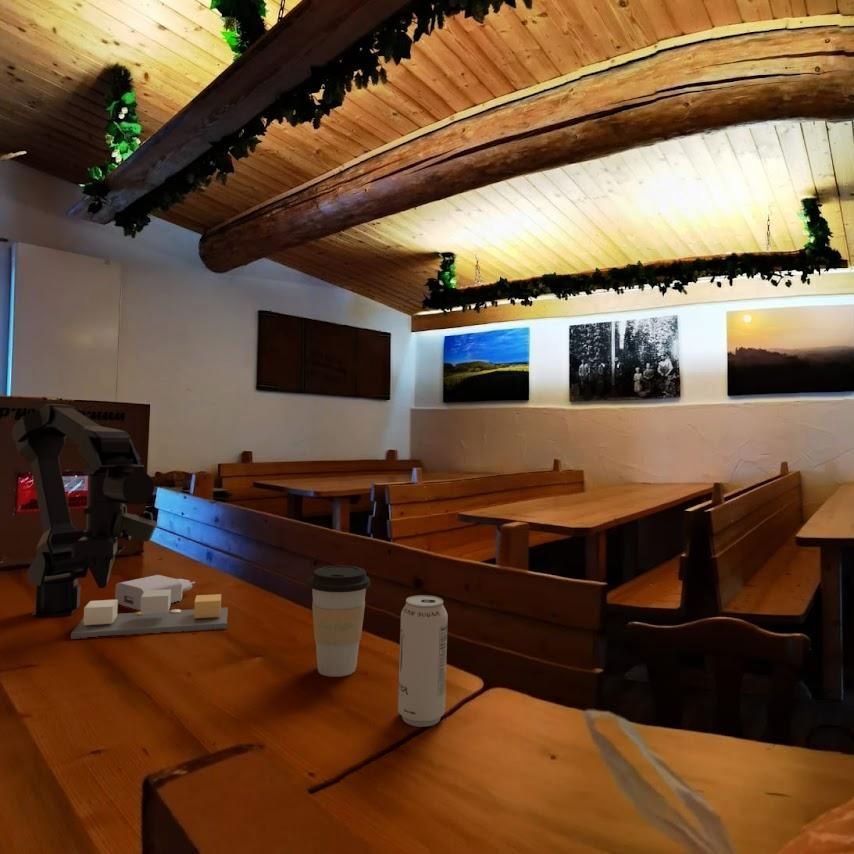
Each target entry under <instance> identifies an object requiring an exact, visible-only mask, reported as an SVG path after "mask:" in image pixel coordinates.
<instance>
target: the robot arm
mask: <svg viewBox="0 0 854 854" xmlns="http://www.w3.org/2000/svg"><path fill="white" fill-rule="evenodd" d="M11 436H12V440H13V441H14V443H15V446H16V450H17V453H18V454H19V455H20V456H21V457H22V458H23V459H24V460H25V461H26V462H28V463H29V464H30V469H31V474H32V479H33V485H34V490H35V495H36V501H37V506H38V511H39V517H40V522H41V527H42V535H41V537H40V539H39V542H38V543H37V545H36V547H35V548H36V549H35V550H36V556H35V558H34V560H33V561H32V562H31V564H30V566H29V568H28V569H27V572H26V573H27V581H28V583H31V584H33V585H36V593H35V594H36V595H35V598H36V599H35V611H34V612H33V613H32V614H31V616H32V618H41V617H43V618H44V617H57V616H59V617H60V616H61V617H62V616H71V615H72V614H73V613H74V612H76V611H77V609H78V608H79V607H80V606H81V591H82V590H81V589H82V587H81V584H78V579H84V578H86V577H87V573H88V570H89V571H90V573H91V575H92V577H93V579H94V581H95V583H96V585H97V587H98V589H106V587H107V586H108V582H109V579H110V575H111V572H112V568H113V565H114V561H115V557H116V556H117V555H118V554H119V553H120V552H121V551H122V550H123V549H124V548H125V547H126V544H118V539H125V541H130V540H131V539H132V537H133V538H136V539H139V541H141V542H145V543H149V542H150V540H152V537H153V535H154V532H155V530H156V528H157V525H158V522H157V520H154V516H153V513H152V512H150V511H147V510H144V511H143V512H142V513H141V514H139V515H137V514H135V513H134V514H133V513H128V506H127V505H133V506H141V505H143V504H144V505H145V503H147V502H148V501H149V500H150V499H151V498H152V496H153V494H154V491H155V483H154V481H153V479H152V477H151V476H150V474H148V473H147V472H145V466H144V465H143V464H142V463H141V460H142V459H141V458H140V456H139V454H138V452H137V450H136V448H135V446H134V445H135V444H134V441H132V438H131V436H130V434H129V433H128V432H126V431H124V430H121V429H117V428H112V427H106V426H101V425H100V424H98V423H97V422H95V421H93V420H92V419H90V418H89V417H87V416H85V415H84V414H82V413H81V412H80V411H77V410H76V408H75V406H72V405H70V404H59V403H57V404H56V403H47V404H44V405H43V406H42V407H41V408H39V409H38V410H35V411H33V412H30V413H28V414H25V415H24V416H21V418H20V419H19V420H18V421H17V422H16V423H15V424H14V425H13V427H12V431H11ZM67 438H69V440H72V441H73V442H75V443H76V444H77V445H78V446H79V447H78V451H77V452H78V454H80V455H81V457H83V459H84V460H85V461H86V462H87V463H88V466H86V467H85V468H84V469H83V471H82V473H83V474H84V475H87V498H86V506H85V507H83V514H85V515H86V524H85V525H86V528H85V530H84V529H77V528H76V527H75V526H74V525H73V523H72V517H71V512H70V508H69V503H68V498H67V493H66V488H65V484H64V483H65V482H64V480H63V475H62V473H63V472H62V469H61V464H60V458H59V456H60V455H61V453H62V451H63V449H64V447H65V445H66V442H65V441H66V440H65V439H67ZM126 504H127V505H126Z"/></svg>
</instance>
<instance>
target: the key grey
mask: <svg viewBox="0 0 854 854" xmlns="http://www.w3.org/2000/svg"><path fill="white" fill-rule="evenodd" d="M171 605H172V604H171V589H167V590H146V591H144V593H143V595H142V596H141V614H147V613H164V612H168V611H170V607H171Z"/></svg>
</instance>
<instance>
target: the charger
mask: <svg viewBox="0 0 854 854" xmlns="http://www.w3.org/2000/svg"><path fill="white" fill-rule="evenodd" d="M193 584H196V581H192V582H191V580H188V579H183V578H174V577H169V576H165V575H161V574H155V575H150V576H145V577H141V578H136V579H131V580H126V581H122V582H118V583H116V584H115V588H114V589H115V590H114V591H115V593H114V594H115V595H114V600H118V604H120V605H123V606H127V607H130V608H134V609H138V610H141V596H142V595H143V593H144V591H146V590H167V589H171V603H172V604H175V603H174V602H176V603H178V602H177V601H179V602H181V601H182V599H183V592H186V591H189V590H191V589H192V588H193ZM123 606H122V607H123ZM127 607H126V608H127ZM130 608H129V609H130ZM134 609H133V610H134Z"/></svg>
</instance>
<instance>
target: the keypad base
mask: <svg viewBox="0 0 854 854" xmlns="http://www.w3.org/2000/svg"><path fill="white" fill-rule="evenodd" d="M228 611H229V607H221V613H220V617H209V618H194V608H192V609H179V608H177V609H176V608H175V609H171V610H168V612H164V613H147V614H141V611H136V612H128V613H125V612H124V613H123V612H122V613H117V617H116V619H115V620H114V622H113V623H112V624H96V625H84V617H83V618H82V619H81V620H80V621H79V623H78V624H77V626H75V628H74V629H73V630H72V631H71V633H70V640H78V639H80V638H81V639H88V638H87V637H96V638H98V637H97V636H109V635H123V634H137V633H155V634H159V633H158V632H170V633H183V632H182V631H184V632H195V631H210V630H211V631H212V630H213V629H214V630H226V629H227V628H228V627H227V626H228V616H229V615H228V613H229V612H228ZM156 632H157V633H156Z"/></svg>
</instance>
